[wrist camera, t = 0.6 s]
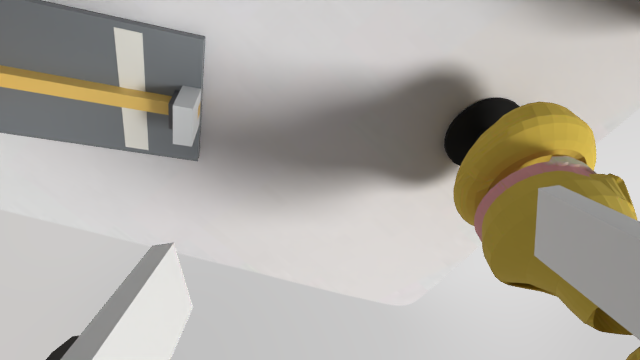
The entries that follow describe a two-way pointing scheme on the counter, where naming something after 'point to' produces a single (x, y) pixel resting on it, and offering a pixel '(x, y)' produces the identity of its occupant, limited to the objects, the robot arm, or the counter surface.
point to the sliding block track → (99, 80)
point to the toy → (528, 189)
